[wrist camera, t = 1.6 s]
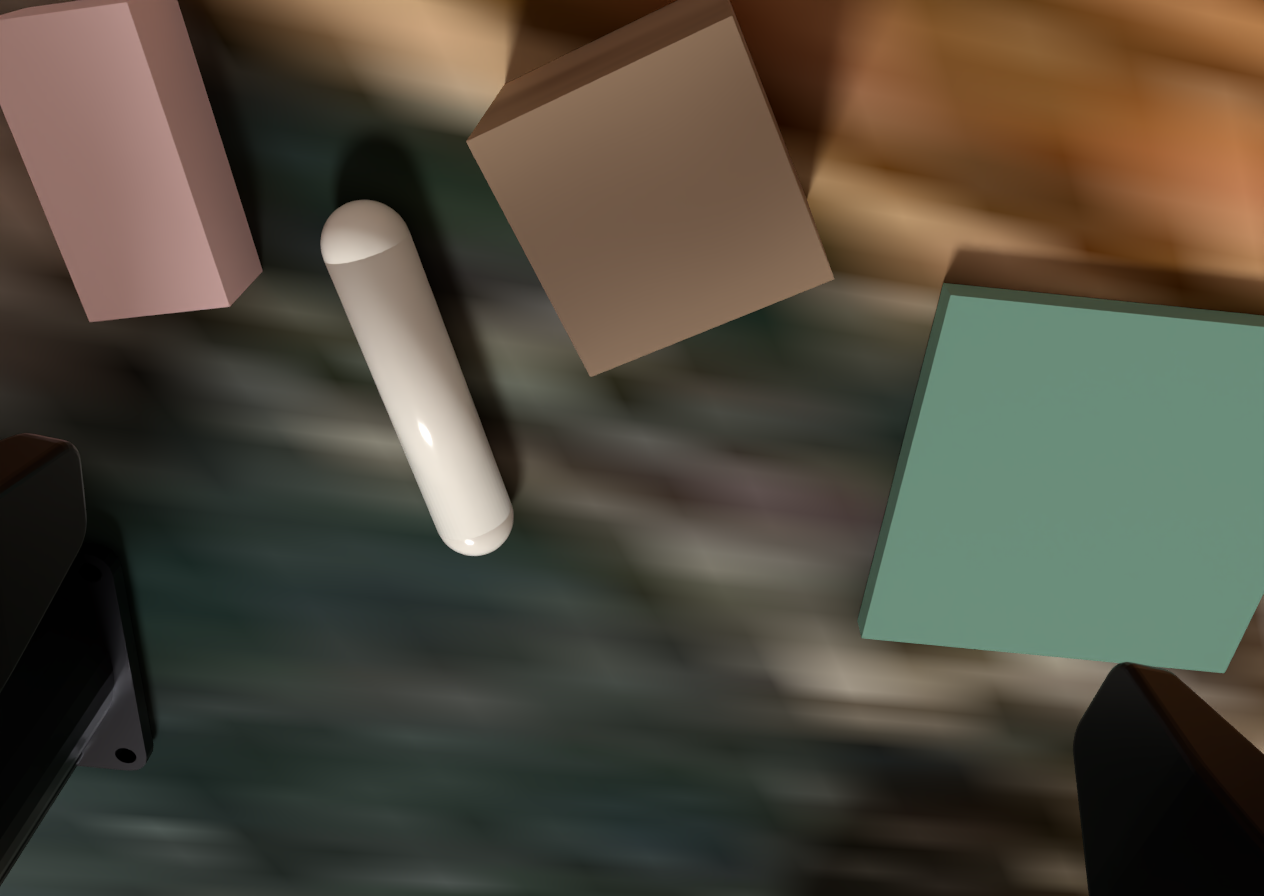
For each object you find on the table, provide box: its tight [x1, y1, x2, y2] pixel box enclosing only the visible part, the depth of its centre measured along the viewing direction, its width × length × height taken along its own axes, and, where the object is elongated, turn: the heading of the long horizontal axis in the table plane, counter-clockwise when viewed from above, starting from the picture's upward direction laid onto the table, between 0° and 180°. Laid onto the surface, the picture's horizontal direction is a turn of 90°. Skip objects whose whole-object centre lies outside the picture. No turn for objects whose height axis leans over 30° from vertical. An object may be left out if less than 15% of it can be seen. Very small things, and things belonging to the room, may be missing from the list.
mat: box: [858, 283, 1264, 673], centre depth 22 cm, size 8×8×1 cm
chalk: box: [321, 200, 513, 556], centre depth 21 cm, size 8×2×2 cm, turn 15°
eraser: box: [0, 0, 263, 322], centre depth 19 cm, size 5×3×2 cm, turn 7°
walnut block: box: [466, 0, 834, 377], centre depth 17 cm, size 4×4×4 cm
